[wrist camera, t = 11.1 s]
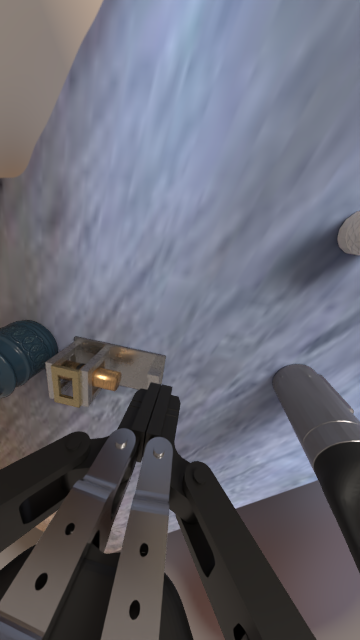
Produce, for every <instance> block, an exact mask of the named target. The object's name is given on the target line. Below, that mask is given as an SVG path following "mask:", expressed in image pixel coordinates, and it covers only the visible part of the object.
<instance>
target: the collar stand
mask: <svg viewBox="0 0 360 640" xmlns="http://www.w3.org/2000/svg"><path fill="white" fill-rule="evenodd" d="M67 359H69V361H73V362H78V363H84V364H86V365H84V366H83V367H82V368H81V369H80V370H77V369H73V368H69V367H64V366H60V365H61V364H62V363H64V362H65V361H66V360H67ZM165 359H166V356H165V355H160V354H156V353H151V352H147V351H142V350H137V349H133V348H128V347H124V346H119V345H114V344H110V343H105V342H100V341H96V340H91V339H87V338H82V337H77V336H75V337H74V342H73V343H72V344H71V345H69V346H68V347H66V348H65V349H63V350H62V351H61V352H59V353H58V354H56V355H55V356H53V357H52V358H51V359H49V360H48V361H46V362H45V364H46V372H47V380H48V389H49V397H50V398H52V399H54V401H55V402H58V403H62V404H66V405H70V406H74V407H80V406H86V407H89V406H90V404H91V403H92V402H93V400H94V399H95V398H96V396H97V395H98V394H99V392H100V391H101V390H102V388H99V387H95V386H92V373H93V372H94V371H95V370H96V369H97V368H98V367H100V368H104V369H109V370H113V371H117V372H121V381H120V384H119V385H121V386H126V387H130V388H134V389H139V390H140V389H141V388H142V389H148V387H149V385H150V383H151V382H153V383H157V384H162V378H163V371H164V365H165ZM60 376H64V377H69V378H72V381H69V380H65V379H63V380H62V381H61V382H60ZM71 385H73V397H71V396H67V395H63V393H64V392H65V391H66V390H67V389H68V388H69V387H70V386H71Z"/></svg>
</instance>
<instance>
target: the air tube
mask: <svg viewBox="0 0 360 640" xmlns="http://www.w3.org/2000/svg"><path fill="white" fill-rule="evenodd" d="M84 365H86V364H84V363H78V362H73V361H69V360H66V361H65V362H64V363H62V364H61V365H60V366H64V367H69V368H73V369H77V370H80V369H81V368H82V367H83V366H84ZM60 379H65V380H69V381H72V378H69V377H64V376H60ZM120 381H121V372H117V371H113V370H109V369H104V368H100V367H98V368H97V369H96V370H95V371H94V372H93V373H92V386H95V387H99V388H103V389H108V390H112V391H116V390H117V388H118V386H119V384H120Z"/></svg>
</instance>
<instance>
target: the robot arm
mask: <svg viewBox="0 0 360 640" xmlns="http://www.w3.org/2000/svg"><path fill="white" fill-rule="evenodd" d="M273 388H274V390H275V392H276V394H277V396H278V398H279V400H280V403H281V405H282V407H283V409H284V411H285V413H286V415H287V417H288V419H289V421H290V423H291V425H292V427H293V429H294V431H295V433H296V435H297V437H298V440H299V442H300V444H301V446H302V448H303V450H304V452H305V454H306V456H307V458H308V460H309V462H310V464H311V466H312V468H313V470H314V472H315V474H316V476H317V478H318V480H319V482H320V485H321V486H322V490H323V492H324V494H325V497H326V499H327V501H328V503H329V505H330V508H331V510H332V512H333V514H334V516H335V518H336V520H337V522H338V525H339V527H340V529H341V531H342V534H343V536H344V538H345V540H346V543H347V545H348V547H349V549H350V552H351V554H352V556H353V558H354V561H355V563H356V566H357V568H358V570H359V573H360V421H359V420H358V419H357V418H356V417H355V416H354V414H353V413H354V411H353V409H352V408H351V406H350V405H349V404H348V403H347V402H346V401H345V400H344V399H343V398H342V397H341V396H340V395H339V393H338V392H337V391H336V390H335V389H334V388H333V387H332V386H331V385H330V384H329V383H328V382H327V380H326V379H325V378H324V377H323V376H322V375H319V374H317V373H316V372H315V371H314V370H313V369H312V368H310V367H308V366H306V365H302V364H294V365H289V366H286V367H284V368H282V369H281V370H279V371H278V372H277V373H276V374H275V376H274V378H273ZM171 392H172V387H171V386H166V385H162V386H161V384H157V383H153V382H151V383H150V385H149V387H148V389H142V388H141V389H140V390H138V391H137V392H136V393H135V395H134V397H133V399H132V401H131V403H130V405H129V407H128V409H127V411H126V413H125V415H124V417H123V419H122V421H121V423H120V425H119V427H118V429H117V430H116V431H114V432H113V433H112V434H111V435H110V436H108V437H104V438H97V439H90V438H89V436H88V434H86V433H85V432H73V433H71V434H69V435H67V436H65V437H63V438H61V439H59V440H57V441H55V442H53V443H51V444H49V445H47V446H45V447H43V448H41V449H40V450H38V451H36V452H34V453H32V454H30V455H28V456H26V457H24V458H22V459H20V460H18V461H16V462H14V463H12V464H10V465H9V466H7V467H5V468H3V469H1V470H0V552H1V551H3V550H4V549H5V548H7V547H8V546H10V545H11V544H12V543H14V542H15V541H16V540H18V539H19V538H20V537H22V536H23V535H24V534H26V533H27V532H29V531H30V530H31V529H32V528H34V527H35V526H37V525H38V524H39V523H41V522H42V521H43V520H45V519H46V518H47V517H49V516H50V515H51V514H53V513H54V512H56V511H57V510H58V511H57V512H56V514H55V516H54V517H53V519H52V520H51V522H50V523H49V525H48V527H47V528H46V530H45V531H44V533H43V535H42V536H41V538H40V540H39V541H38V543H37V544H36V545H34V546H33V547H30V548H29V549H27V550H26V551H24V552H23V553H21V554H20V555H18V556H17V557H16V558H15V559H13V560H12V561H11V562H10V563H8V564H7V565H6V566H5V567H4V568H2V570H0V640H193V636H192V633H191V630H190V626H189V623H188V620H187V616H186V613H185V610H184V607H183V604H182V601H181V599H180V596H179V594H178V592H177V590H176V588H175V586H174V584H173V583H172V581H171V580H170V578H169V577H168V576H167V575H166V574H165V572H164V569H165V557H166V544H167V532H168V520H169V509H170V510H172V511H173V512H174V513H175V514H176V518H177V521H178V523H179V526H180V528H181V531H182V533H183V536H184V538H185V541H186V543H187V546H188V548H189V551H190V553H191V556H192V558H193V561H194V563H195V566H196V568H197V571H198V573H199V575H200V578H201V580H202V583H203V586H204V588H205V590H206V593H207V595H208V598H209V600H210V603H211V605H212V608H213V610H214V613H215V615H216V618H217V620H218V623H219V625H220V628H221V630H222V633H223V635H224V638H225V640H316V638H315V637H314V635H313V634H312V632H311V630H310V629H309V627H308V626H307V624H306V622H305V621H304V619H303V617H302V616H301V614H300V613H299V611H298V609H297V608H296V606H295V604H294V603H293V601H292V600H291V598H290V596H289V595H288V593H287V592H286V590H285V588H284V587H283V585H282V584H281V582H280V580H279V579H278V577H277V576H276V574H275V572H274V571H273V569H272V568H271V566H270V564H269V563H268V561H267V559H266V558H265V556H264V555H263V553H262V551H261V550H260V548H259V547H258V545H257V543H256V542H255V540H254V538H253V537H252V535H251V534H250V532H249V530H248V529H247V527H246V526H245V524H244V522H243V521H242V519H241V518H240V516H239V514H238V513H237V511H236V509H235V508H234V506H233V505H232V503H231V501H230V500H229V498H228V497H227V495H226V493H225V492H224V490H223V489H222V487H221V485H220V484H219V482H218V480H217V479H216V477H215V476H214V474H213V472H212V471H211V469H210V468H209V467H208V466H207V465H206V464H204V463H202V462H199V461H195V462H192V463H189V462H188V461H186V460H185V459H183V458H182V457H181V456H180V455H179V454H178V453H177V451H176V449H175V445H174V440H175V434H176V428H177V422H178V416H179V410H180V400H179V397H177V396H173V395H171ZM142 457H143V459H142ZM141 460H142V465H141V470H140V474H139V478H138V483H137V487H136V492H135V496H134V498H133V502H132V506H131V510H130V514H129V519H128V523H127V527H126V532H125V536H124V540H123V545H122V549H121V552H120V553H110V554H105V553H104V550H105V548H106V545H107V542H108V539H109V536H110V532H111V528H112V525H113V522H114V520H115V517H116V515H117V512H118V510H119V507H120V505H121V502H122V500H123V497H124V494H125V492H126V489H127V487H128V484H129V482H130V479H131V476H132V473H133V470H134V467H135V464H136V461H137V462H141Z"/></svg>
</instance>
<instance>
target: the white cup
mask: <svg viewBox="0 0 360 640" xmlns="http://www.w3.org/2000/svg"><path fill="white" fill-rule="evenodd" d="M337 240H338V244H339V248H341V249H342V250H343V251H344V252H345V253H347V254H352V255H358V256H360V211H357V212H356V213H354V214H353V215H351V216H350V217H349V218H347V219H346V220H345V222H344V223H343V225H342V226H341V227H340V229H339V233H338V237H337Z"/></svg>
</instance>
